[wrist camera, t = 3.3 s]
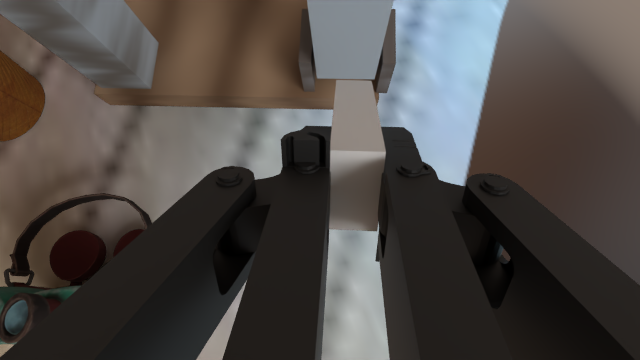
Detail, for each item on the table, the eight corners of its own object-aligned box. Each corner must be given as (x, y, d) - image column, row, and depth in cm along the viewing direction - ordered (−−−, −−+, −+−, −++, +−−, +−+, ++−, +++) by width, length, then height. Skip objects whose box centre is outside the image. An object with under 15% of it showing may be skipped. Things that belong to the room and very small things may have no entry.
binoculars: (92, 157, 18) (44, 379, 15) (179, 208, 28) (163, 346, 25) (-77, 162, 18) (-160, 380, 15) (70, 210, 28) (39, 347, 25)
